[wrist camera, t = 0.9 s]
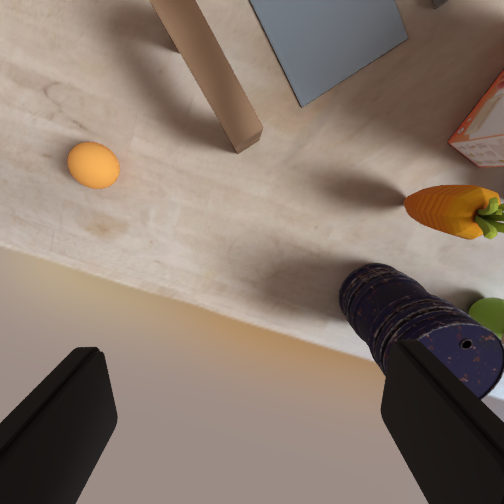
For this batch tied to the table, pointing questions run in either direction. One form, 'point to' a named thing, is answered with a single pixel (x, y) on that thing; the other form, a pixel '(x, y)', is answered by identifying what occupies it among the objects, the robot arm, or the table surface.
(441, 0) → the wall
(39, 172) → the table surface
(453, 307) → the dark blue cylinder
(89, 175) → the ball
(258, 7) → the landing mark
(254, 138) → the bridge
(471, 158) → the cracker box
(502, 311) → the snail figurine
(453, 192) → the carrot
